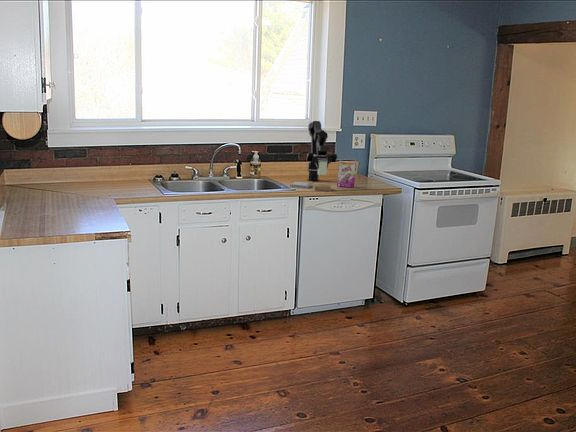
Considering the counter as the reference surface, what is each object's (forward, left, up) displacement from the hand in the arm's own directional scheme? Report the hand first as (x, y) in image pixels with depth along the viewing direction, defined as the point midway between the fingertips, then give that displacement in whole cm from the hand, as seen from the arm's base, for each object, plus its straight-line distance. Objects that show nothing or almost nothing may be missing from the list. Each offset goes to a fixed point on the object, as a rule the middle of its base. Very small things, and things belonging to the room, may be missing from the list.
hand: (322, 168), depth 362 cm
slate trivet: (+1, -15, -13) cm, 20 cm away
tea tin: (-1, -1, -4) cm, 4 cm away
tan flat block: (0, 0, -13) cm, 13 cm away
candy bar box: (-22, +2, -14) cm, 26 cm away
